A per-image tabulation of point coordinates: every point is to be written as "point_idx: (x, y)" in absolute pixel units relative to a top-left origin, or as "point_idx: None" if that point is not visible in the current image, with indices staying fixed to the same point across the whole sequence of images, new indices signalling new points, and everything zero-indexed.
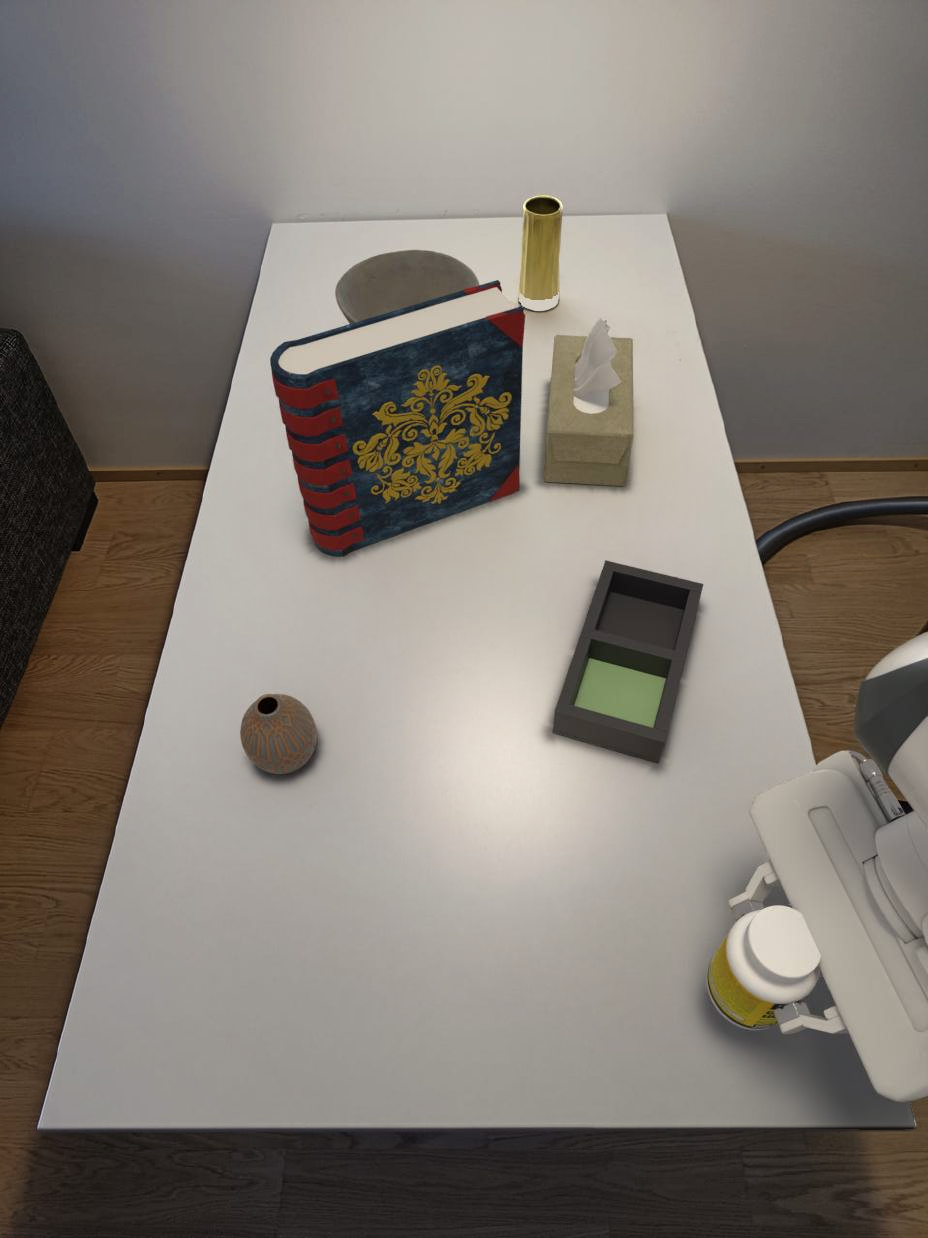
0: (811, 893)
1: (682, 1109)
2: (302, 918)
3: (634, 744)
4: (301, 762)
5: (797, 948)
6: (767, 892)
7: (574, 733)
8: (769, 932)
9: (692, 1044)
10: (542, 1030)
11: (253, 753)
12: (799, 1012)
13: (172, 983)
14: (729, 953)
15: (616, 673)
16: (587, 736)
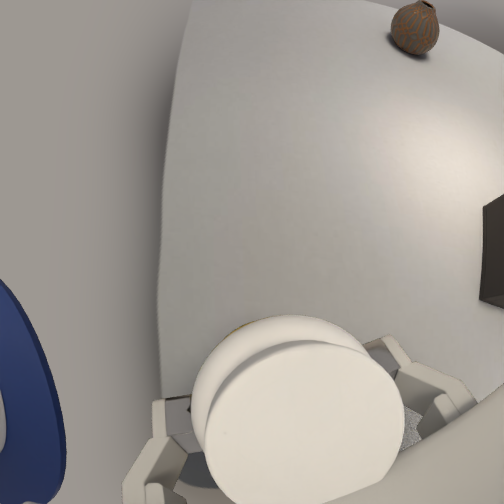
0: (429, 500)
1: (164, 300)
2: (305, 41)
3: (495, 270)
4: (403, 38)
5: (289, 472)
6: (406, 403)
7: (489, 220)
8: (336, 404)
9: (222, 318)
10: (233, 176)
11: (397, 11)
12: (177, 438)
13: (258, 4)
14: (289, 316)
15: None
16: (490, 231)
